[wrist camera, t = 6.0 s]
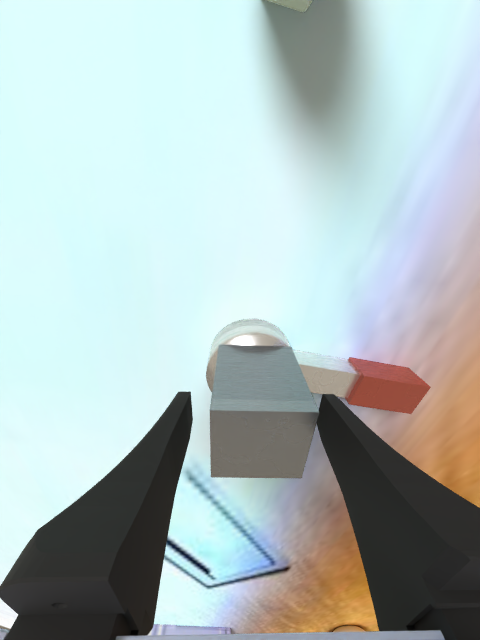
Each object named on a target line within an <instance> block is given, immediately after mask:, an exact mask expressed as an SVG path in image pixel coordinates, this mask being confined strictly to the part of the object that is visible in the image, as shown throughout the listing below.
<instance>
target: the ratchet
mask: <svg viewBox="0 0 480 640" xmlns="http://www.w3.org/2000/svg"><path fill="white" fill-rule="evenodd" d="M219 344H224V345H257V346H290V344H289V342H288V340H287V338H286V336H285V334H284V333H283V332H282V331H281V330H280V329H279V328H278V327H276V326H275V325H273V324H271V323H269V322H267V321H264V320H259V319H243V320H239V321H236V322H233V323H231V324H229V325H227V326H226V327H224V328H223V329H222V330H221V331H220V332H219V333H218V334H217V335H216V337H215V339H214V340H213V343H212V346H211V350H210V355H209V360H208V366H207V372H206V378H207V383H208V386H209V388H210V390H211V392H212V391H213V384H214V376H215V369H216V361H217V354H218V346H219ZM293 352H294V354H295V357H296V359H297V361H298V364H299V366H300V368H301V371H302V373H303V375H304V378H305V380H306V382H307V385H308V387H309V389H310V392H312V393H318V394H334V395H335V396H337V397H344V398H345V399H346V400H347V402H348V404H350V405H357V406H363V407H370V408H376V409H383V410H389V411H396V412H402V413H409V414H411V413H412V412H413V411H414V409H415V408H416V407H417V405H418V404H419V402H420V401H421V400H422V398H423V397H424V396H425V394H426V393H427V392H428V390H429V389H430V388H431V387H430V386H429V385H428V384H426V383H425V382H424V381H423V380H422V379H421V378H419V377H418V376H417V375H416V374H415V373H414V372H413V371H411V370H410V369H409V368H407V367H401V366H395V365H390V364H384V363H379V362H373V361H367V360H362V359H356V358H351V357H349V359H343V358H338V357H332V356H326V355H321V354H315V353H309V352H304V351H298V350H293Z"/></svg>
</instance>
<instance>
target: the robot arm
mask: <svg viewBox="0 0 480 640" xmlns="http://www.w3.org/2000/svg"><path fill="white" fill-rule="evenodd" d="M192 420H193V418H192V405H191V392H178V393H177V394H176V396H175V398H174V399H173V401H172V402H171V403H170V405H169V406H168V408H167V409H166V410H165V412H164V413H163V414H162V416H161V417H160V418H159V420H158V421H157V422H156V424H155V425H154V426H153V427H152V428H151V430H150V431H149V432H148V433H147V434H146V435H145V437H144V438H143V439H142V440H141V441H140V442H139V443H138V445H137V446H136V447H135V448H134V449H133V450H132V451H131V452H130V453H129V454H128V455H127V456H126V457H125V458H124V459H123V460H122V461H121V462H120V463H119V464H118V465H117V466H116V467H115V468H114V469H113V470H112V471H111V472H109V473H108V474H107V475H106V476H105V477H104V478H103V479H102V480H101V481H99V482H98V483H97V484H96V485H95V486H93V487H92V488H91V489H90V490H89V491H87V492H86V493H85V494H84V495H83V496H81V497H80V498H79V499H78V500H77V501H75V502H74V503H73V504H72V505H70V506H69V507H68V508H66V509H65V510H64V511H62V512H61V513H60V514H58V515H57V516H56V517H54V518H53V519H52V520H50V521H49V522H48V523H46V524H45V525H44V526H42V527H41V528H40V529H38V530H37V532H36V533H35V535H34V536H33V537H32V539H31V540H30V541H29V543H28V544H27V545H26V547H25V548H24V550H23V551H22V553H21V554H20V556H19V558H18V559H17V561H16V562H15V564H14V565H13V567H12V569H11V570H10V572H9V573H8V575H7V576H6V578H5V580H4V581H3V583H2V584H1V586H0V598H1V599H2V600H3V601H4V602H5V603H6V604H7V605H8V606H9V607H11V608H12V609H13V610H14V611H15V612H16V613H17V614H18V617H17V619H16V620H15V622H14V624H13V626H12V628H11V629H10V631H9V630H7V629H2V628H0V640H480V508H479V507H477V506H475V505H474V504H472V503H470V502H469V501H467V500H466V499H464V498H462V497H461V496H459V495H458V494H456V493H454V492H453V491H451V490H450V489H448V488H447V487H445V486H444V485H442V484H441V483H439V482H438V481H436V480H435V479H433V478H432V477H430V476H429V475H427V474H426V473H425V472H423V471H422V470H420V469H419V468H417V467H416V466H415V465H413V464H412V463H411V462H409V461H408V460H407V459H405V458H404V457H403V456H402V455H400V454H399V453H398V452H396V451H395V450H394V449H393V448H391V447H390V446H389V445H388V444H387V443H386V442H384V441H383V440H382V439H381V438H380V437H379V436H377V435H376V434H375V433H374V432H373V431H372V430H371V429H370V428H368V427H367V426H366V425H365V424H364V423H363V422H362V421H361V420H360V419H359V418H358V417H357V416H356V415H355V414H354V413H353V412H352V411H351V410H350V409H349V408H348V407H347V406H346V405H345V404H344V403H343V402H342V401H341V400H340V399H339V398H337V397H336V396H335V395H334V394H323V395H322V399H321V403H320V407H319V415H318V419H317V426H318V430H319V434H320V437H321V441H322V443H323V446H324V448H325V451H326V453H327V456H328V458H329V461H330V463H331V466H332V468H333V471H334V473H335V475H336V478H337V480H338V483H339V485H340V488H341V491H342V494H343V496H344V500H345V503H346V506H347V509H348V512H349V516H350V519H351V522H352V526H353V529H354V533H355V536H356V540H357V543H358V547H359V550H360V554H361V558H362V562H363V565H364V569H365V573H366V577H367V581H368V585H369V589H370V593H371V597H372V601H373V605H374V610H375V614H376V618H377V623H378V627H379V631H373V632H316V633H259V634H203V635H148V634H149V633H150V631H151V630H152V628H153V624H154V618H155V611H156V604H157V598H158V591H159V585H160V578H161V572H162V566H163V560H164V554H165V547H166V542H167V536H168V530H169V524H170V519H171V513H172V508H173V502H174V497H175V492H176V488H177V484H178V480H179V477H180V473H181V469H182V465H183V462H184V458H185V454H186V450H187V447H188V443H189V439H190V433H191V427H192Z"/></svg>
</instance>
